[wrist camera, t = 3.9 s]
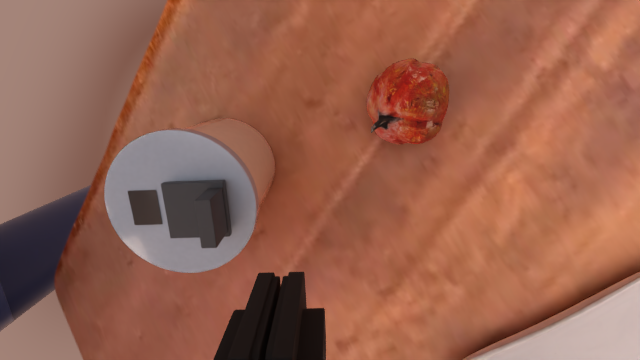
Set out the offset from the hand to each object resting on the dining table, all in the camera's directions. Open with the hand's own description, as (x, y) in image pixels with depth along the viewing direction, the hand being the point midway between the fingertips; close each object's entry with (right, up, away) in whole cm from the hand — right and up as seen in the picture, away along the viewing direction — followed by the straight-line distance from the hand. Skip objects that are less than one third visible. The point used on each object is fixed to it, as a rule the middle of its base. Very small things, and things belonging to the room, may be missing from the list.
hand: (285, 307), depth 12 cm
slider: (-7, +3, +11) cm, 13 cm away
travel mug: (-8, +6, +23) cm, 25 cm away
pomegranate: (+9, +13, +21) cm, 26 cm away
